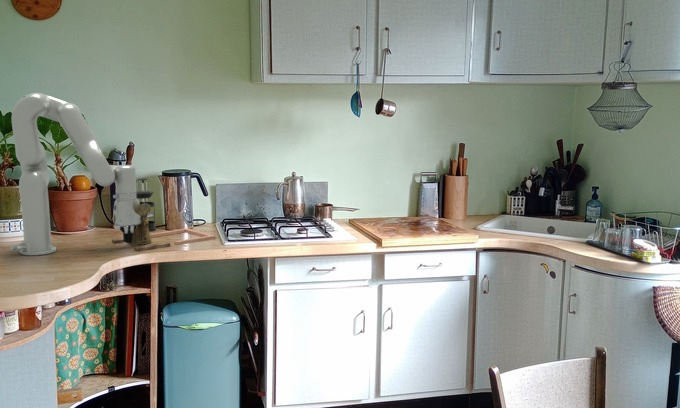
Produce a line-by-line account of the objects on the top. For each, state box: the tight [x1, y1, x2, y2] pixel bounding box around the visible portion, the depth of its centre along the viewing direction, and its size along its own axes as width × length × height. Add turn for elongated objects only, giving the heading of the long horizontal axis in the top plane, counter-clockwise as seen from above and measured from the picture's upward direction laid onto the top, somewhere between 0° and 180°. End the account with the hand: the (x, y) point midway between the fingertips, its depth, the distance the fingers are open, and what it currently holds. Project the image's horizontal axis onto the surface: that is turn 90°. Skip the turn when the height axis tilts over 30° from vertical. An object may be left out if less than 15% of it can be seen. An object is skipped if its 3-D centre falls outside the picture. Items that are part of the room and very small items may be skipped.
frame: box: [149, 227, 216, 246], centre depth 288 cm, size 18×22×1 cm
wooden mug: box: [127, 201, 152, 246], centre depth 274 cm, size 9×14×18 cm, turn 32°
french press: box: [136, 177, 157, 233], centre depth 302 cm, size 12×9×23 cm
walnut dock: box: [111, 237, 171, 253], centre depth 275 cm, size 14×22×1 cm, turn 44°
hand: (128, 242), depth 271 cm, fingers closed
